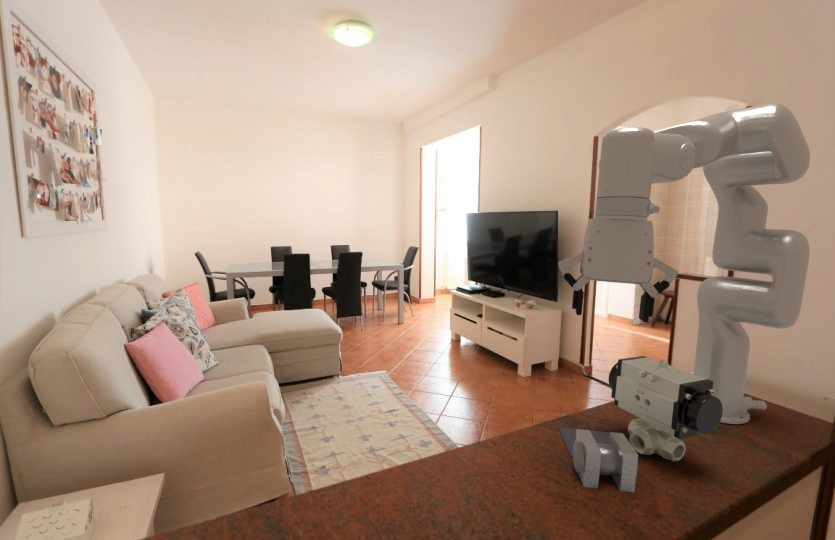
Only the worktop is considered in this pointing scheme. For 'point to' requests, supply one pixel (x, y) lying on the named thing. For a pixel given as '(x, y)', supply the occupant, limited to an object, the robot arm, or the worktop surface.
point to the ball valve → (663, 405)
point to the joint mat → (570, 438)
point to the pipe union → (605, 460)
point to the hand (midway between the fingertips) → (610, 317)
